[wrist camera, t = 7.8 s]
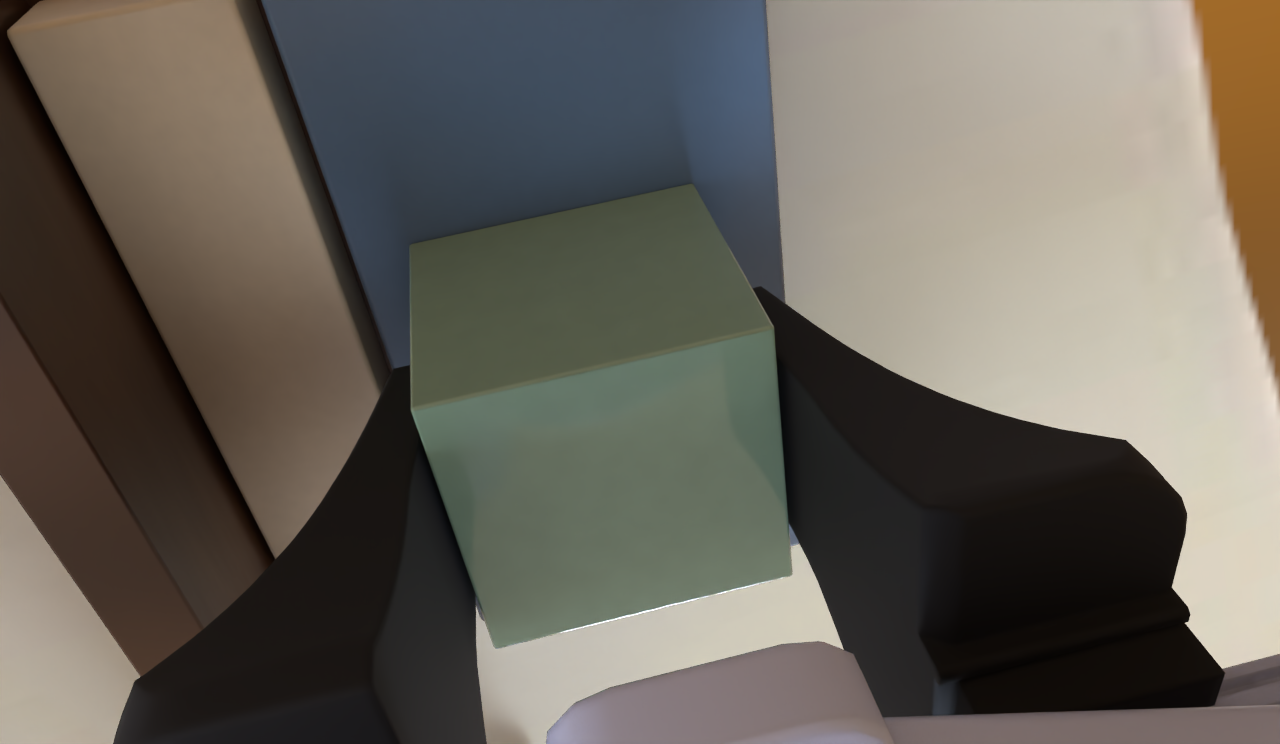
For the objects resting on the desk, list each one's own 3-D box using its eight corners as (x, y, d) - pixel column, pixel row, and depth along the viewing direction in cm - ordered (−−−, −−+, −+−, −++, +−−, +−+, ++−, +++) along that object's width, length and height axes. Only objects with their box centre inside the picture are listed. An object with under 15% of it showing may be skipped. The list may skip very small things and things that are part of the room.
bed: (761, 462, 23) (855, 673, 18) (279, 577, 22) (245, 829, 17) (703, -173, 15) (840, -99, 11) (-35, -33, 15) (-253, 117, 10)
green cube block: (720, 405, 18) (793, 576, 15) (477, 462, 18) (494, 650, 14) (693, 181, 15) (774, 326, 12) (408, 243, 15) (409, 410, 12)
